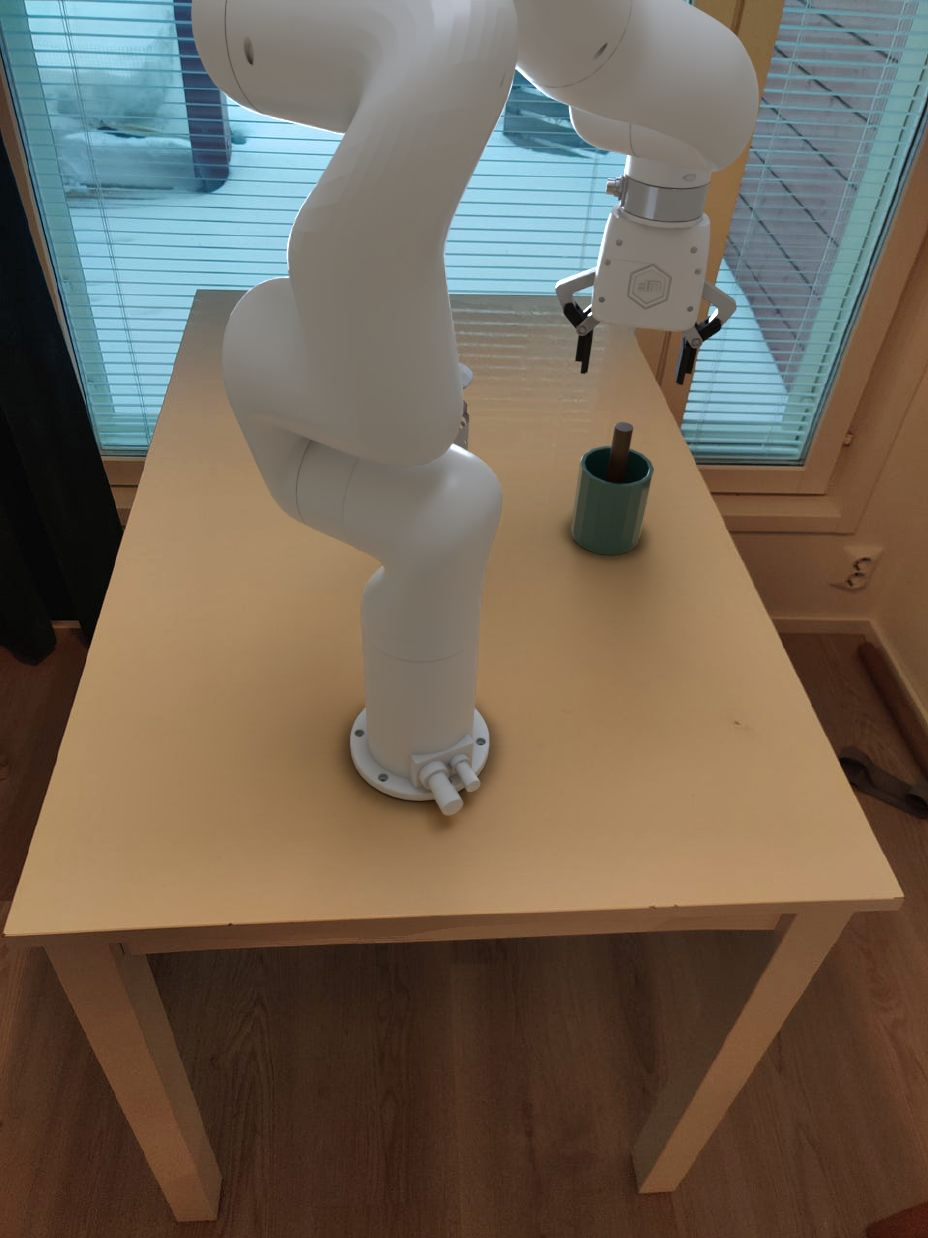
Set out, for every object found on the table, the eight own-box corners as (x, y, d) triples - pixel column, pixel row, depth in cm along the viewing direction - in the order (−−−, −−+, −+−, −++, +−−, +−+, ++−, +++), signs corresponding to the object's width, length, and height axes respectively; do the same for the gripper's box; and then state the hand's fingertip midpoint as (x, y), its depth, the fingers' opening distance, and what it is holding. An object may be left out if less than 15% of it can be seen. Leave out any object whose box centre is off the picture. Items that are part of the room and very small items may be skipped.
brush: (628, 527, 109) (647, 427, 100) (609, 541, 107) (627, 439, 98) (603, 514, 111) (620, 414, 102) (584, 527, 109) (600, 426, 100)
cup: (652, 544, 108) (667, 475, 102) (594, 562, 105) (606, 492, 99) (614, 507, 113) (626, 439, 107) (558, 523, 110) (567, 454, 104)
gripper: (564, 201, 81) (543, 380, 93) (764, 220, 80) (719, 400, 91) (569, 175, 87) (549, 348, 98) (757, 193, 86) (714, 366, 97)
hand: (631, 373), depth 95 cm, fingers open, 9 cm apart
